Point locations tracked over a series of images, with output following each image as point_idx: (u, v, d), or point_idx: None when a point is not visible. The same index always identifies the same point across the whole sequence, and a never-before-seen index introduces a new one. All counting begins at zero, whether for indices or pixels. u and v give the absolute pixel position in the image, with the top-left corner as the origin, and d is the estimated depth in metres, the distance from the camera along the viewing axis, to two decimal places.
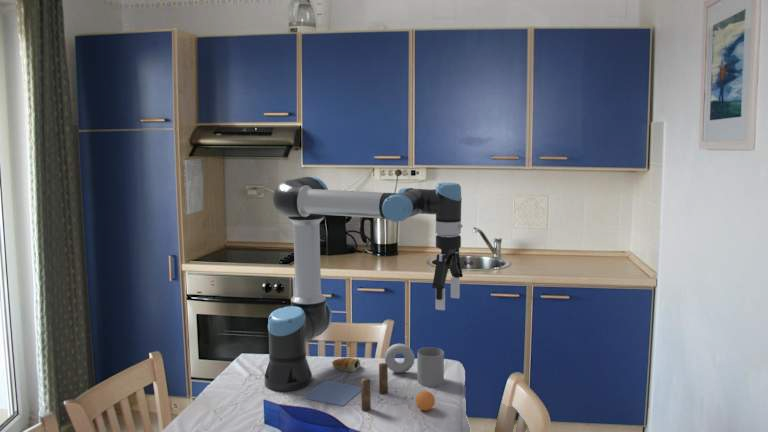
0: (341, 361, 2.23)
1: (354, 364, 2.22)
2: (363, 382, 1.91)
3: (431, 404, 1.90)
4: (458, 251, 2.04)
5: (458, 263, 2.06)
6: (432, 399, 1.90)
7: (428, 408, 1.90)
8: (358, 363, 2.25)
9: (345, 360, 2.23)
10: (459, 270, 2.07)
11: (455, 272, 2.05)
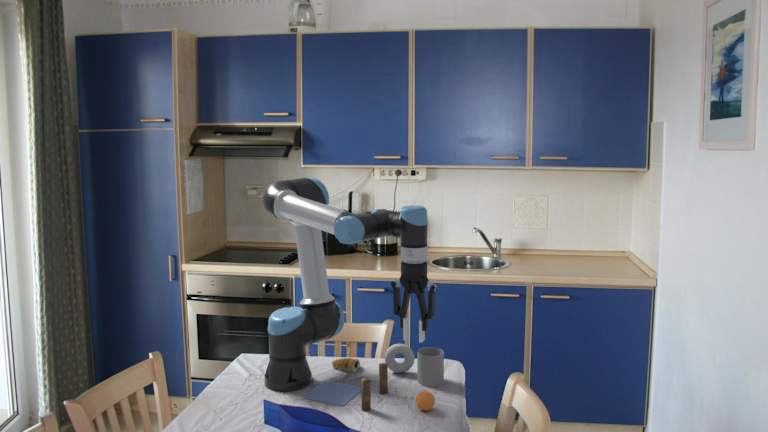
0: (341, 361, 2.23)
1: (354, 364, 2.21)
2: (363, 382, 1.91)
3: (431, 404, 1.90)
4: (431, 290, 1.85)
5: (428, 303, 1.86)
6: (432, 399, 1.90)
7: (428, 408, 1.90)
8: (358, 363, 2.24)
9: (345, 360, 2.23)
10: (428, 312, 1.87)
11: None
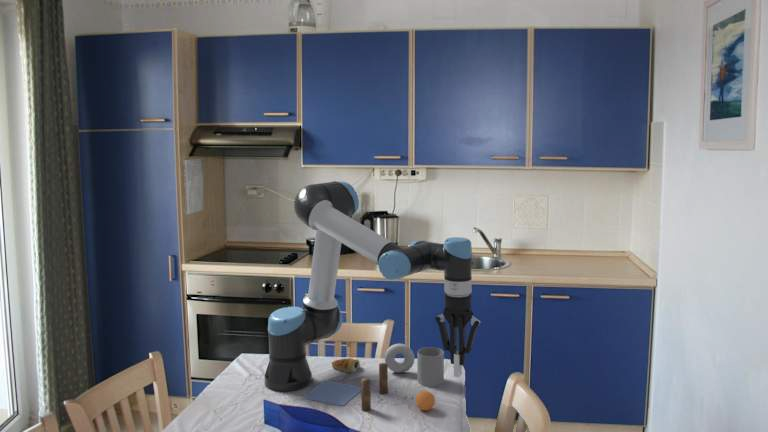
0: (341, 362, 2.22)
1: (354, 365, 2.21)
2: (363, 382, 1.91)
3: (431, 404, 1.90)
4: (474, 325, 1.81)
5: None
6: (432, 399, 1.90)
7: (428, 408, 1.90)
8: (358, 364, 2.24)
9: (345, 361, 2.22)
10: None
11: None
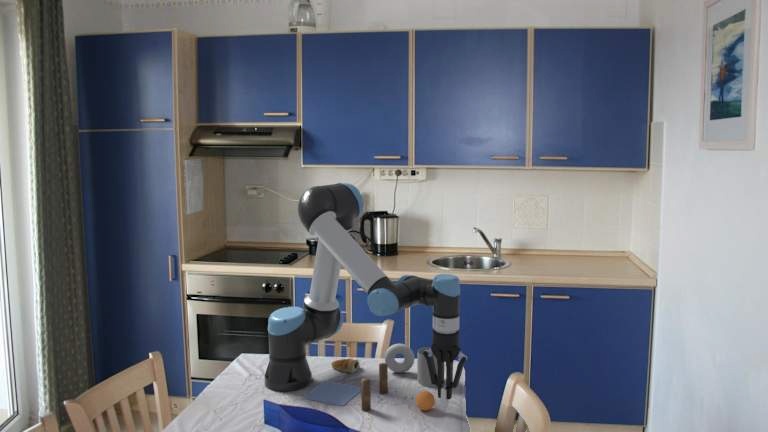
0: (341, 362, 2.22)
1: (354, 365, 2.21)
2: (363, 382, 1.91)
3: (431, 404, 1.90)
4: (462, 361, 1.85)
5: None
6: (432, 399, 1.90)
7: (428, 408, 1.90)
8: (357, 364, 2.24)
9: (345, 361, 2.22)
10: None
11: None
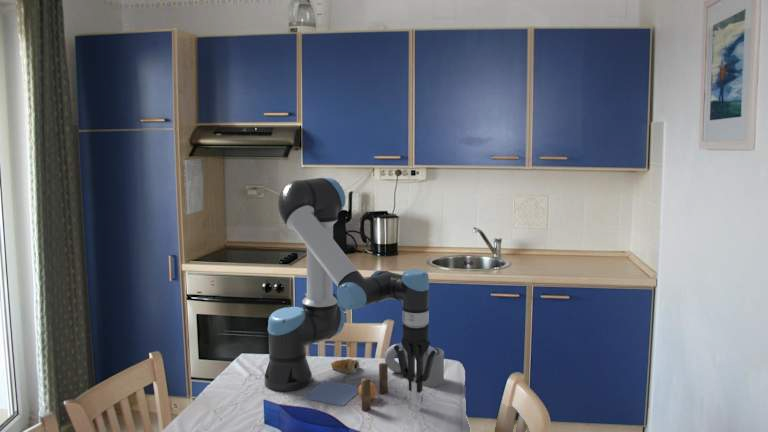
0: (340, 363, 2.22)
1: (354, 365, 2.21)
2: (363, 382, 1.91)
3: (372, 395, 1.97)
4: (431, 355, 1.88)
5: None
6: (374, 390, 1.97)
7: None
8: (357, 364, 2.24)
9: (344, 362, 2.22)
10: None
11: None
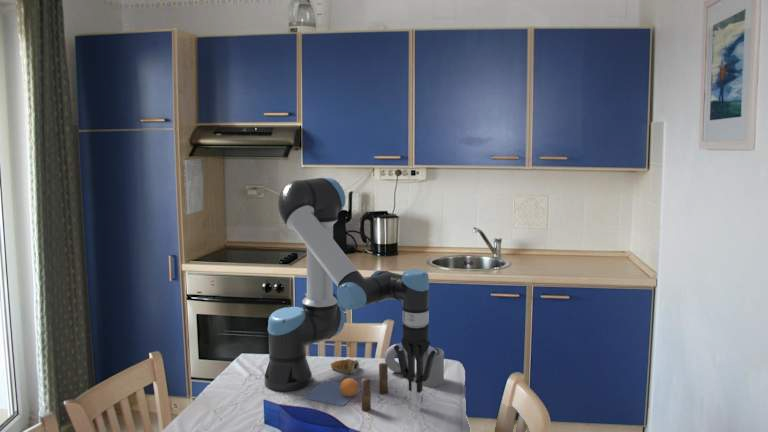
0: (340, 363, 2.21)
1: (354, 366, 2.20)
2: (363, 382, 1.91)
3: (343, 382, 2.01)
4: (431, 355, 1.88)
5: None
6: None
7: (347, 383, 2.00)
8: (357, 364, 2.23)
9: (344, 362, 2.21)
10: None
11: None
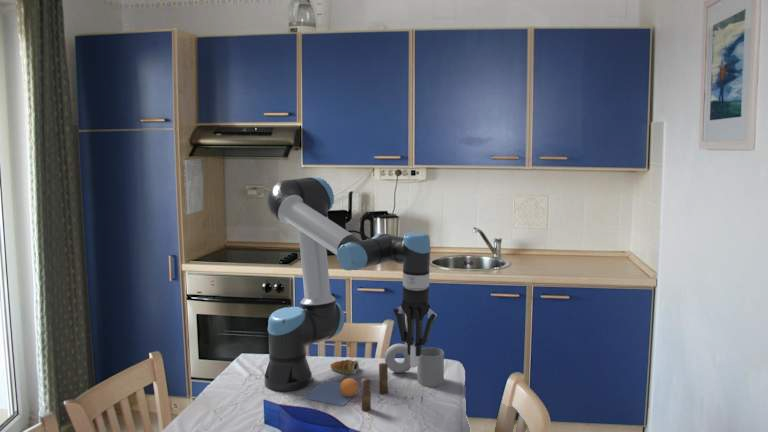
0: (340, 364, 2.21)
1: (354, 366, 2.20)
2: (363, 382, 1.91)
3: (343, 382, 2.01)
4: (431, 318, 1.86)
5: (425, 329, 1.88)
6: None
7: (347, 383, 2.00)
8: (357, 365, 2.23)
9: (344, 362, 2.21)
10: None
11: None
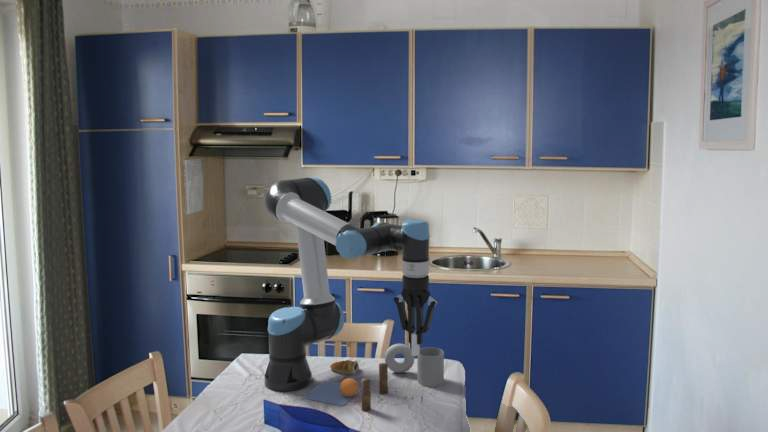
0: (340, 364, 2.20)
1: (354, 366, 2.20)
2: (363, 382, 1.91)
3: (343, 382, 2.01)
4: (431, 305, 1.86)
5: None
6: None
7: (347, 383, 2.00)
8: (357, 365, 2.23)
9: (344, 363, 2.20)
10: None
11: None
